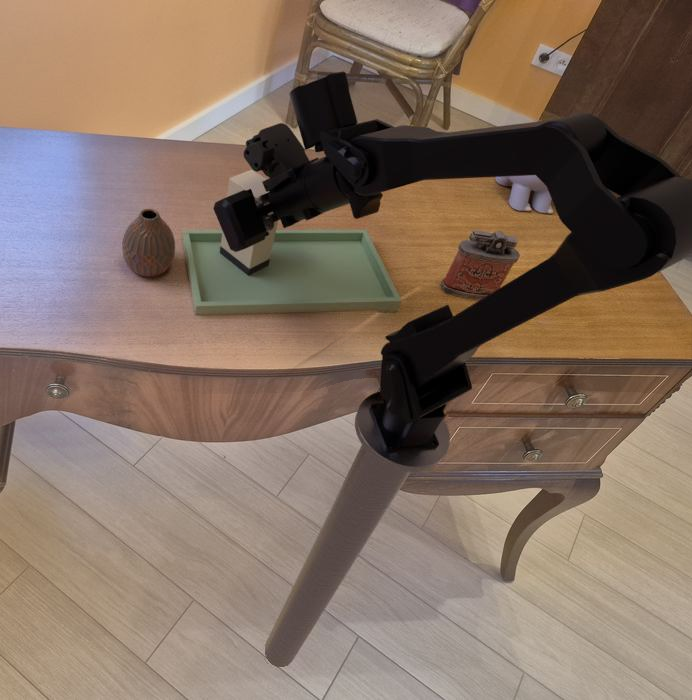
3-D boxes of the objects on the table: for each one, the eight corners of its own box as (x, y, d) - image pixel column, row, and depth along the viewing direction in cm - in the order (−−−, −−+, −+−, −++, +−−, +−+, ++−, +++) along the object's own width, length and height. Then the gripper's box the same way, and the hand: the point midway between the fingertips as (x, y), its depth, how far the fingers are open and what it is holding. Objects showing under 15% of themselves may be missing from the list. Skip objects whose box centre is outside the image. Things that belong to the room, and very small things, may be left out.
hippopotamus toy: (583, 217, 105) (615, 168, 98) (499, 210, 103) (526, 159, 96) (559, 182, 112) (587, 134, 105) (481, 175, 111) (504, 125, 104)
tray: (397, 311, 83) (402, 300, 81) (194, 317, 78) (196, 306, 76) (362, 240, 93) (366, 229, 92) (182, 241, 88) (182, 229, 87)
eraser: (268, 265, 86) (284, 191, 77) (248, 276, 84) (261, 201, 75) (240, 243, 88) (251, 169, 80) (219, 252, 86) (229, 177, 78)
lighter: (493, 287, 89) (525, 230, 81) (498, 302, 86) (531, 246, 79) (438, 279, 89) (465, 221, 81) (441, 294, 86) (470, 237, 79)
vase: (113, 273, 82) (111, 219, 75) (138, 246, 86) (138, 192, 80) (159, 291, 80) (161, 237, 74) (182, 262, 85) (186, 208, 78)
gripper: (350, 97, 72) (270, 141, 85) (235, 137, 63) (163, 180, 76) (382, 187, 75) (299, 217, 88) (275, 239, 65) (199, 264, 78)
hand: (243, 217), depth 82 cm, fingers closed on eraser, 4 cm apart
